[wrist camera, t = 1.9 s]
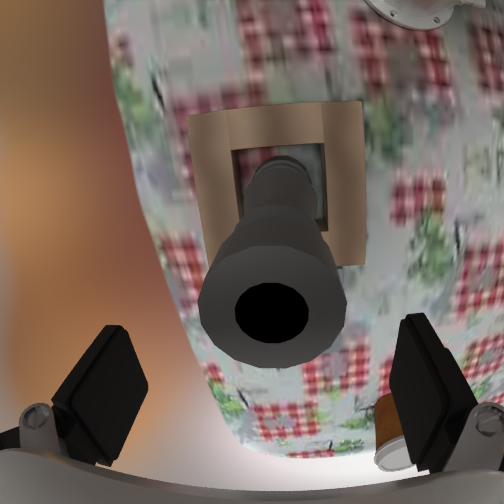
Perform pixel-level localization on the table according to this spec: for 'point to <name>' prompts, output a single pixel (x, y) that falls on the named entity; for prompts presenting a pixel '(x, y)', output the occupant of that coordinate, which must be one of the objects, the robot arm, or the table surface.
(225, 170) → the socket block
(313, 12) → the table surface
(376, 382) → the table surface
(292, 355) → the candle holder
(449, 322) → the table surface
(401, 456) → the disposable coffee cup
